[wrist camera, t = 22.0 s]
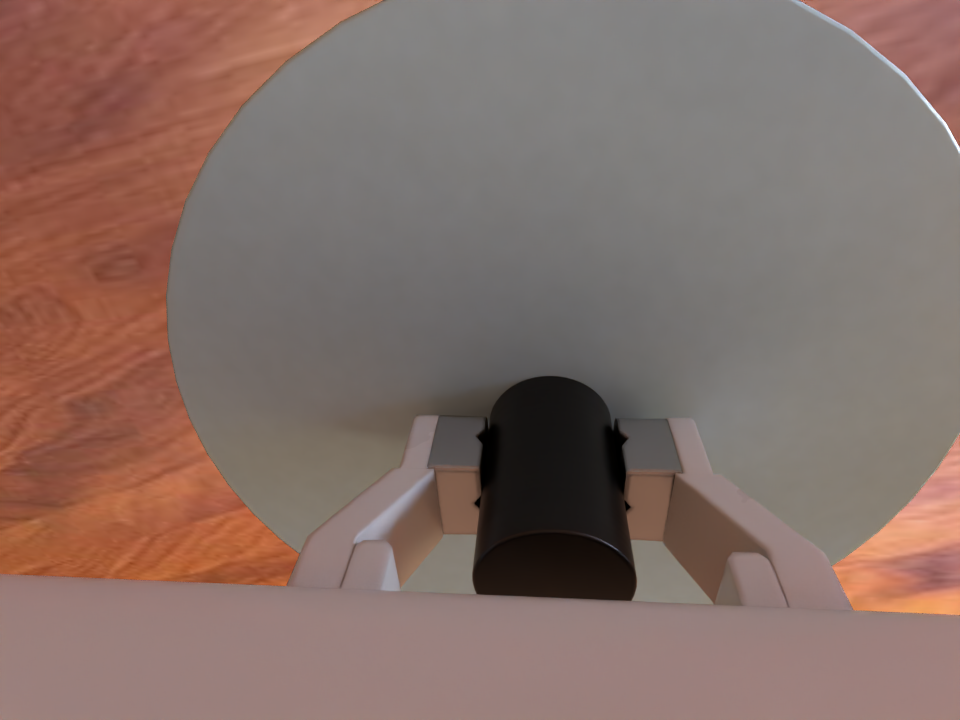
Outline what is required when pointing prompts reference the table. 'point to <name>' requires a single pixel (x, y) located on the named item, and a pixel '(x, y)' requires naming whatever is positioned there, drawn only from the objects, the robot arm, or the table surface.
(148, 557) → the table surface
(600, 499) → the pan lid
